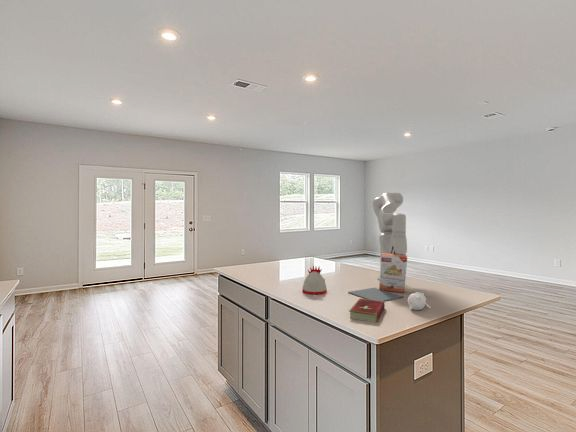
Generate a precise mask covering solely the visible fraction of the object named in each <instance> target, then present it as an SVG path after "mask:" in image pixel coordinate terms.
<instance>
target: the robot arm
mask: <svg viewBox="0 0 576 432" xmlns="http://www.w3.org/2000/svg"><path fill="white" fill-rule="evenodd" d="M403 202H404V196H403V194H402V193H401V192H384V193H383V194H381V196H378V197H375V198H373V200H372V209H373V212H374V215H376V219H377V223H378V228H379V232H380V233H381V234H380V235H379V236H378V243H379V251H380V253H379V254H380V255H379V256H380V262H379V263H380V264H379V265H380V266H379V267H380V268H379V270H380V271H381V258H382V253H387V254H397V255H407V253H408V241H407V240H408V239H407V216H406V214H405V213H399V212H398V213H396V211H397V209H398V208H399V207H401V206H402V204H403ZM380 271H379V272H380ZM377 280H378V281H380V275H379V276H378V277H377Z"/></svg>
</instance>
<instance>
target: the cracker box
mask: <svg viewBox="0 0 576 432" xmlns="http://www.w3.org/2000/svg"><path fill="white" fill-rule="evenodd" d="M407 263H408V255H407V254H406V255H397V254H387V253H382V258H381V271H379V276H380V280H379V287H378V289H380V290H384V291H387V292H396V293H403V294H404V293H405V289H406V279H407V278H406V276H407Z"/></svg>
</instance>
